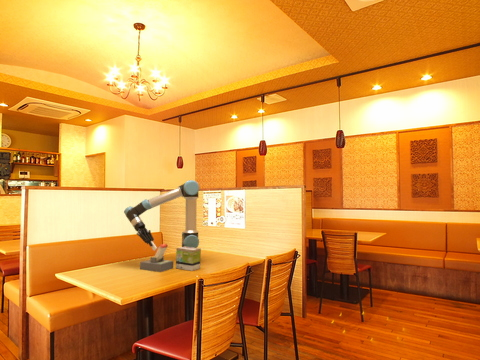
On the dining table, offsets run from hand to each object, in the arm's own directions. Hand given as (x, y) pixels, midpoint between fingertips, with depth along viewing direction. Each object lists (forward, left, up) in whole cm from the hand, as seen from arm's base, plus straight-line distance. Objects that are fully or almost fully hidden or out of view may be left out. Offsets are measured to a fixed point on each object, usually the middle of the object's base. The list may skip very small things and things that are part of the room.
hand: (155, 249), depth 218 cm
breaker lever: (-2, +1, -7) cm, 7 cm away
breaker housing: (-2, +1, -14) cm, 14 cm away
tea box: (-24, +1, -14) cm, 27 cm away
